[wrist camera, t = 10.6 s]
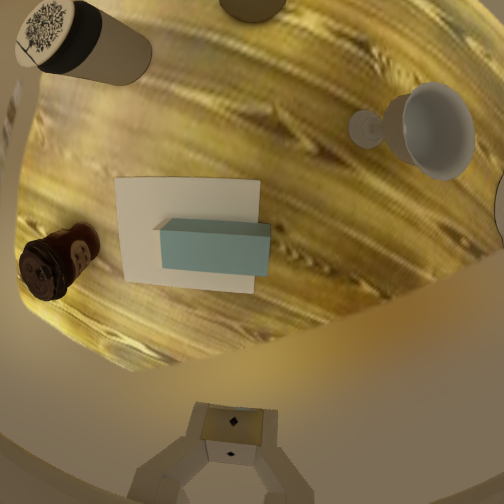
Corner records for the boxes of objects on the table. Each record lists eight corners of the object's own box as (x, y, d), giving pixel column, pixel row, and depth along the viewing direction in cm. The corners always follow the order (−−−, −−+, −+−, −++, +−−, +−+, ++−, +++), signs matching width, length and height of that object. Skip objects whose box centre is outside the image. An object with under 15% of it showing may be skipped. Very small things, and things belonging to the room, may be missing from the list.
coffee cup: (111, 226, 40) (60, 263, 28) (104, 272, 43) (61, 317, 31) (68, 208, 39) (13, 237, 27) (64, 253, 42) (16, 290, 30)
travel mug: (135, 24, 28) (59, -21, 11) (163, 58, 30) (87, 16, 14) (94, 62, 30) (5, 42, 13) (118, 97, 32) (27, 87, 16)
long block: (270, 237, 33) (152, 229, 33) (267, 276, 35) (155, 267, 35) (270, 223, 37) (165, 217, 38) (267, 259, 39) (167, 252, 40)
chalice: (393, 155, 33) (477, 178, 17) (345, 159, 34) (407, 184, 18) (386, 100, 31) (468, 85, 14) (336, 103, 31) (394, 79, 15)
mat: (260, 180, 36) (260, 180, 35) (253, 291, 42) (253, 293, 42) (116, 177, 37) (114, 177, 36) (126, 279, 43) (125, 281, 42)
